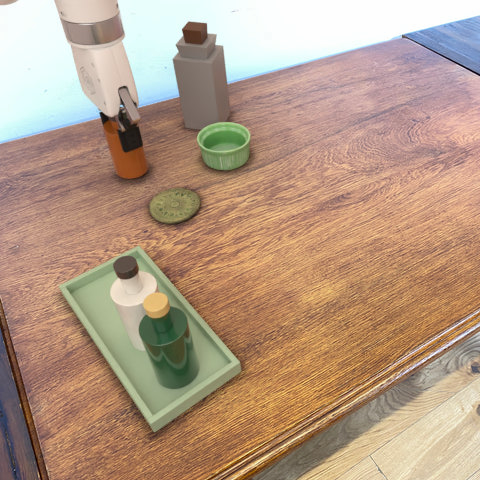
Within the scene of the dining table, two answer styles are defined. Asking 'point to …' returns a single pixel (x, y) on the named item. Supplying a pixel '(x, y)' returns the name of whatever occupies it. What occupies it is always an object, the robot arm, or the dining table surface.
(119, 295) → the frosted bottle
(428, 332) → the dining table surface
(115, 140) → the amber bottle
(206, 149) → the ramekin
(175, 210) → the medallion
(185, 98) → the perfume bottle
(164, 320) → the green glass bottle
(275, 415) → the dining table surface
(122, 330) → the tray
